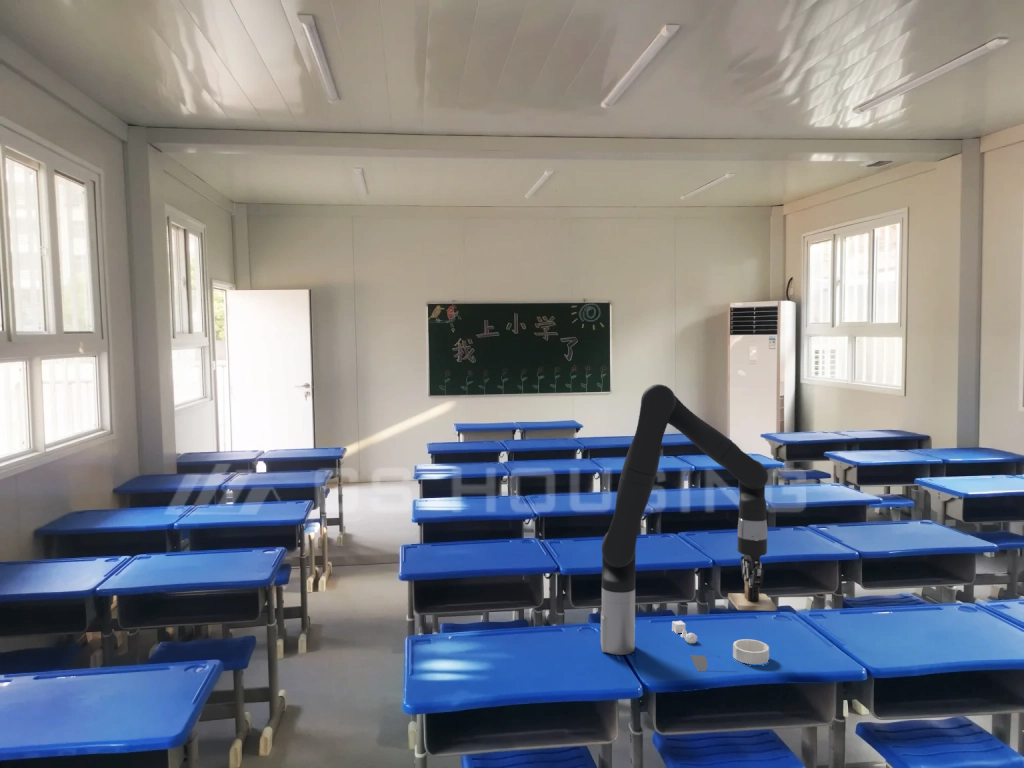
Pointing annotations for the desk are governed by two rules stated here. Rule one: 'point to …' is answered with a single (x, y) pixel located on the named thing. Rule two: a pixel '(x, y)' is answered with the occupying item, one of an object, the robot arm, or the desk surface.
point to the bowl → (751, 651)
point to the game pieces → (683, 632)
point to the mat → (699, 662)
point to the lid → (744, 603)
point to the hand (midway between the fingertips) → (751, 598)
